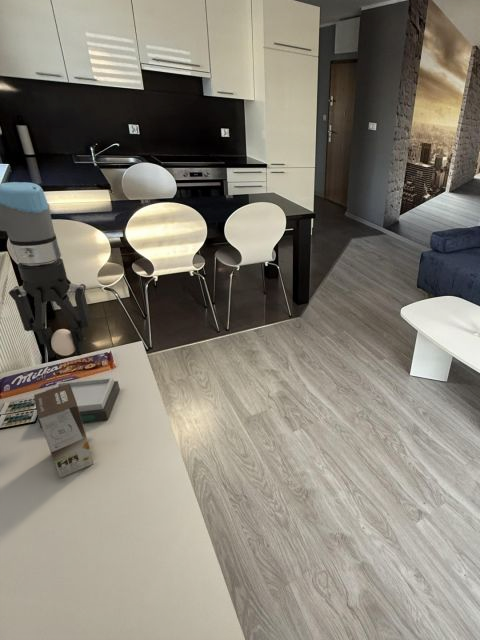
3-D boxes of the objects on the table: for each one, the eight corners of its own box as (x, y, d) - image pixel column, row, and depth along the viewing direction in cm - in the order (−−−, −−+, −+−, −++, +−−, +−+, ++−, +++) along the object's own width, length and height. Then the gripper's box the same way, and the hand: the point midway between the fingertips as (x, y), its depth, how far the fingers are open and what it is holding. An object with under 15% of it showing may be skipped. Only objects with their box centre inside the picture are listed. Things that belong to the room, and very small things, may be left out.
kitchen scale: (40, 429, 93) (34, 413, 91) (59, 395, 103) (54, 381, 101) (107, 421, 97) (103, 405, 95) (120, 389, 107) (116, 375, 105)
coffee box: (95, 463, 86) (78, 406, 79) (59, 479, 82) (38, 419, 75) (86, 438, 92) (69, 382, 85) (52, 451, 88) (32, 394, 81)
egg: (49, 359, 91) (41, 334, 88) (65, 347, 95) (58, 323, 92) (70, 361, 91) (63, 336, 88) (84, 349, 95) (78, 325, 92)
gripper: (-23, 267, 77) (14, 366, 87) (83, 265, 82) (106, 359, 92) (-3, 254, 83) (29, 348, 94) (94, 253, 88) (114, 342, 99)
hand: (67, 353), depth 93 cm, fingers closed on egg, 5 cm apart
